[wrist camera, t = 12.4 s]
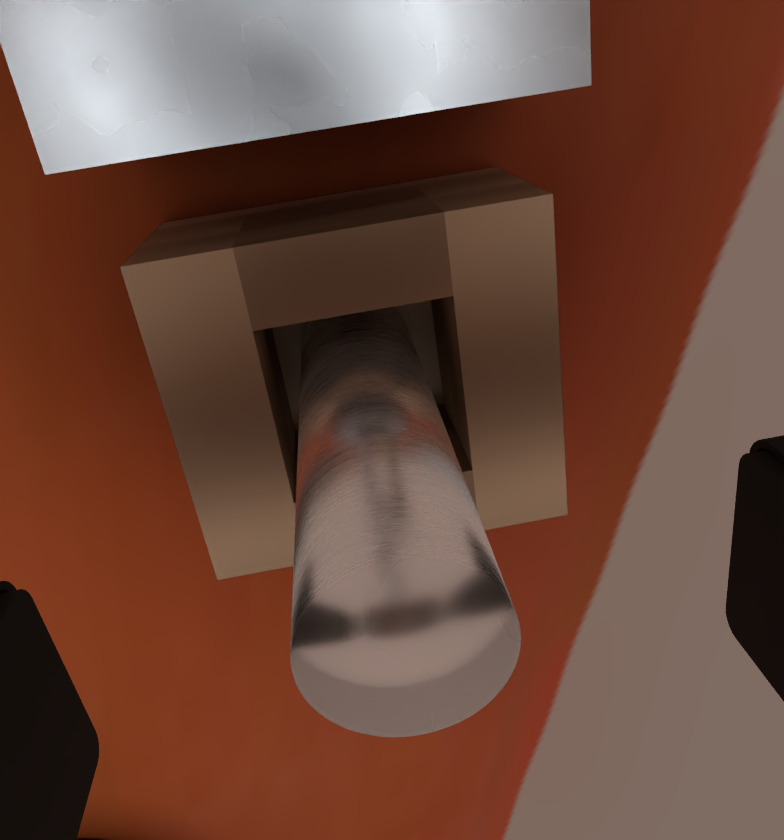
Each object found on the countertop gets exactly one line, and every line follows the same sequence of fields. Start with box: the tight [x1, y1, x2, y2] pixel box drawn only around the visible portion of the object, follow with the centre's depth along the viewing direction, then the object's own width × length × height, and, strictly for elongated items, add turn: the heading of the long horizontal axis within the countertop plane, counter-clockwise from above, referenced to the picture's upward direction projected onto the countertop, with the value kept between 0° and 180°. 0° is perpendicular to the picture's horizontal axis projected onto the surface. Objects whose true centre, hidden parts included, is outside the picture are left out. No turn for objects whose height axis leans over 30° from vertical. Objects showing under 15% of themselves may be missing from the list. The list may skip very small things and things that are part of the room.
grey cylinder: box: [291, 307, 521, 737], centre depth 15 cm, size 3×3×12 cm
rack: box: [120, 167, 568, 580], centre depth 19 cm, size 8×9×5 cm
